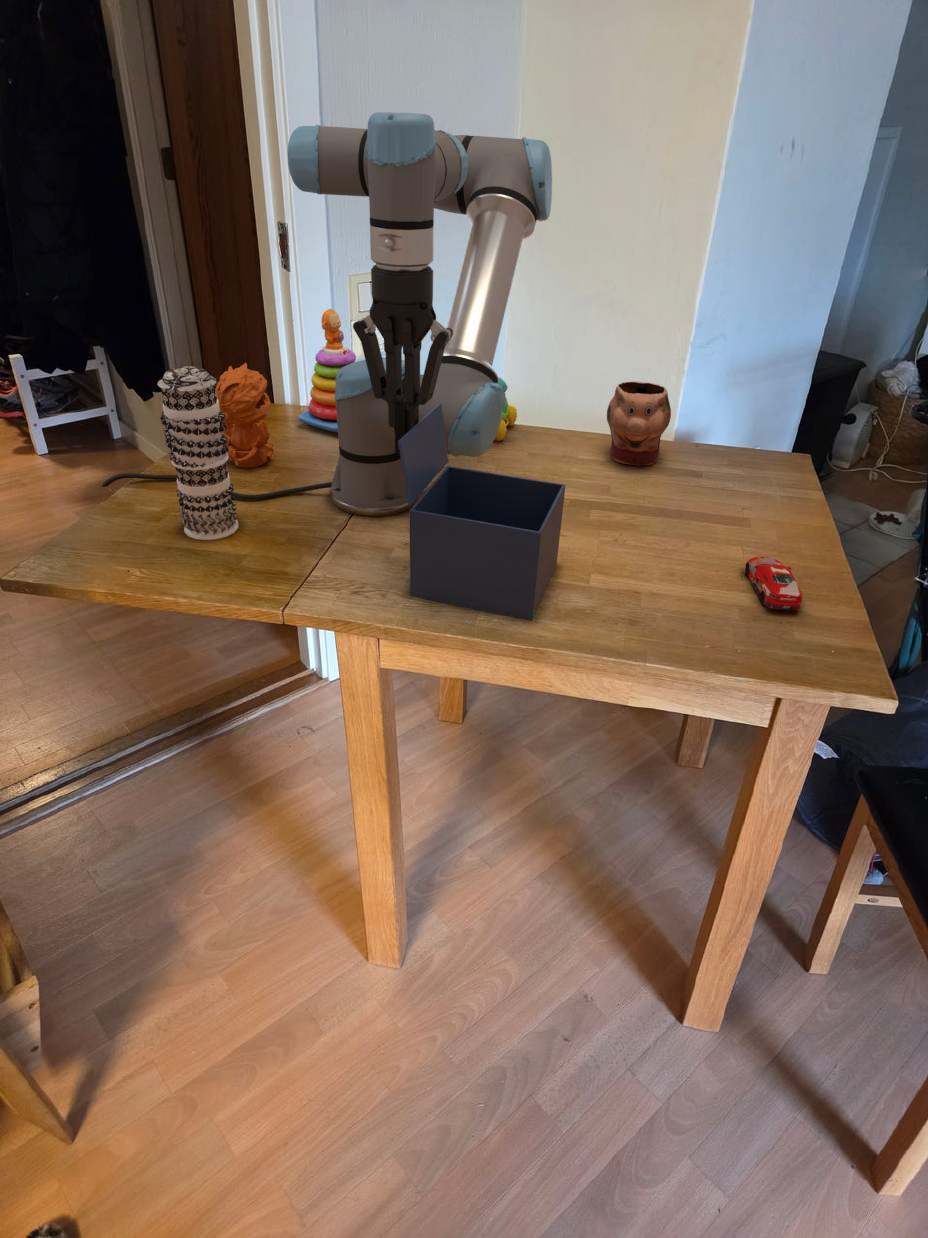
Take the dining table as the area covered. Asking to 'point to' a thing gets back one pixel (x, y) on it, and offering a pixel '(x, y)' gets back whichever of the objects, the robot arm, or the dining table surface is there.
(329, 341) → the stacking toy
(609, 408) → the decorative planter
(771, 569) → the race car
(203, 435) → the decorative candle
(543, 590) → the toy box
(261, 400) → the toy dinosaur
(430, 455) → the box flap
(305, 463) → the dining table surface
